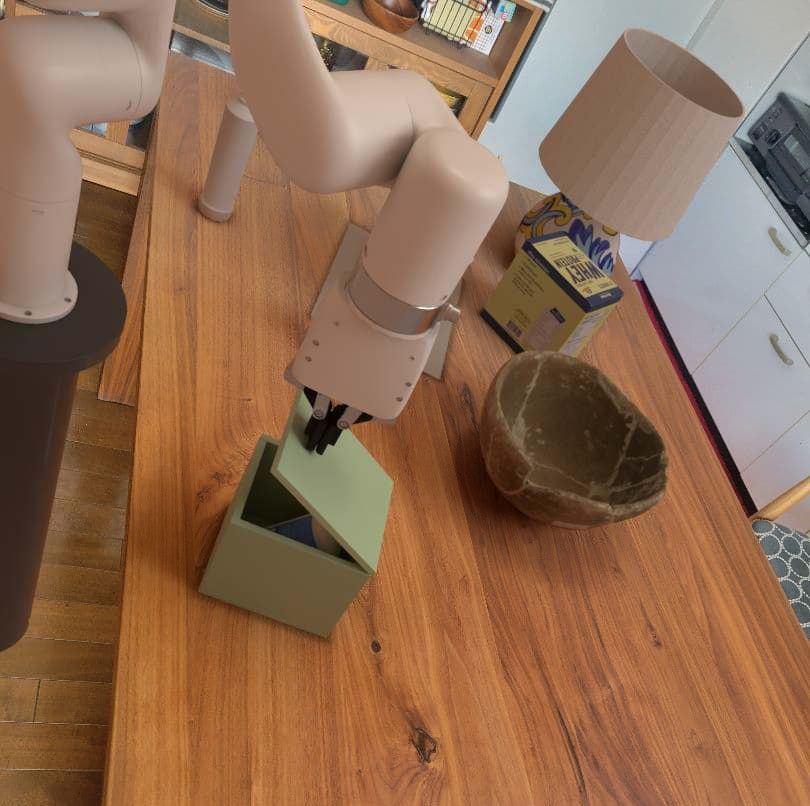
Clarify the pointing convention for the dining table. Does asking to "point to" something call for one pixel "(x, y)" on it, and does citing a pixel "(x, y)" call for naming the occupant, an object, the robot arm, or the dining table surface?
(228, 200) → the bottle
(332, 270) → the architectural model
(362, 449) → the lid
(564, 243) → the protein box
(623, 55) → the table lamp
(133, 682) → the dining table surface
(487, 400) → the bowl
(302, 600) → the box
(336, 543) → the pill bottle
